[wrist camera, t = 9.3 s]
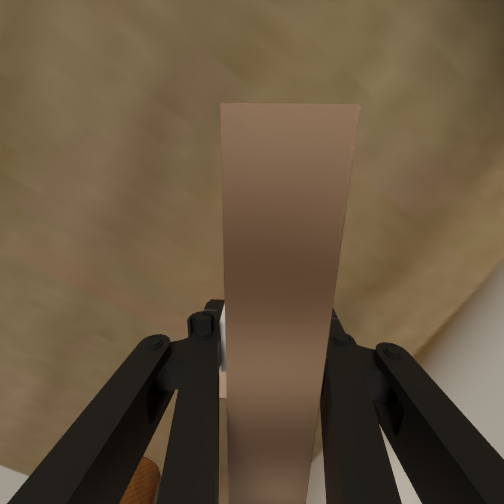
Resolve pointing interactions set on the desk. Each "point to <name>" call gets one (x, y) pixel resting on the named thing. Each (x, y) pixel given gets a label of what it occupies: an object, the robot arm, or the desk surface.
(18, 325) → the desk surface
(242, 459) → the wooden plank
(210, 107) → the desk surface
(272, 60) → the desk surface
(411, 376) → the robot arm
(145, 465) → the disposable coffee cup
